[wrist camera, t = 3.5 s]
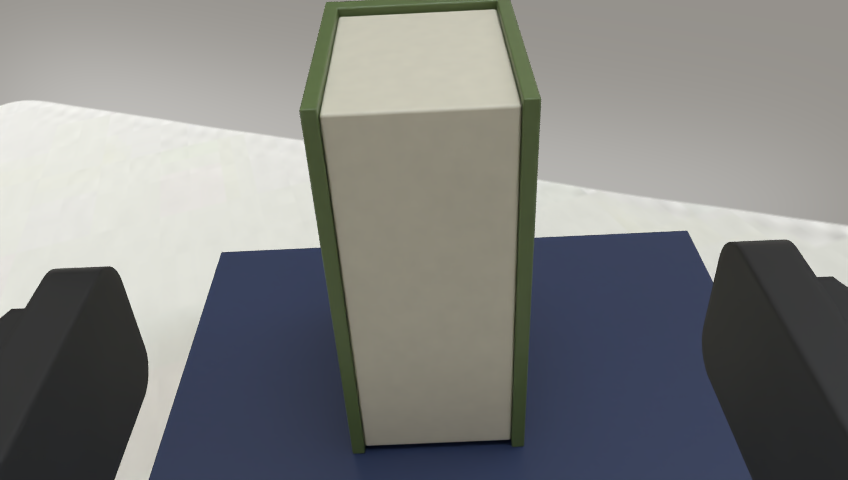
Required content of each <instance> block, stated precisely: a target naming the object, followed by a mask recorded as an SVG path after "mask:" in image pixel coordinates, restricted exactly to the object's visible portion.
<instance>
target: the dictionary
mask: <svg viewBox="0 0 848 480" xmlns="http://www.w3.org/2000/svg"><path fill="white" fill-rule="evenodd" d="M540 111H541V97H540V94H539V91H538V88H537V85H536V81H535V78H534V75H533V72H532V69H531V65H530V62H529V59H528V56H527V52H526V49H525V46H524V43H523V39H522V36H521V33H520V30H519V27H518V24H517V20H516V17H515V14H514V11H513V7H512V4H511V1H510V0H365V1H345V2H327V3H326V5H325V9H324V13H323V17H322V21H321V25H320V29H319V33H318V37H317V41H316V46H315V50H314V54H313V58H312V62H311V66H310V70H309V74H308V78H307V82H306V86H305V91H304V94H303V98H302V103H301V107H300V110H299V112H300V118H301V125H302V130H303V137H304V144H305V150H306V157H307V163H308V170H309V176H310V182H311V189H312V195H313V202H314V208H315V214H316V221H317V227H318V234H319V240H320V246H321V253H322V259H323V266H324V272H325V278H326V285H327V291H328V298H329V304H330V311H331V317H332V323H333V330H334V336H335V343H336V349H337V355H338V362H339V368H340V375H341V381H342V387H343V394H344V400H345V407H346V413H347V420H348V426H349V432H350V439H351V445H352V452H353V453H354V454H358V453H365V447H366V445H367V446H375V445H398V444H421V443H445V442H468V441H491V440H509V439H511V445H512V447H522V446H524V437H525V417H526V397H527V376H528V356H529V335H530V315H531V295H532V274H533V254H534V234H535V213H536V193H537V173H538V172H537V171H538V150H539V132H540V130H539V129H540Z"/></svg>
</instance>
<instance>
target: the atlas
mask: <svg viewBox="0 0 848 480" xmlns="http://www.w3.org/2000/svg"><path fill="white" fill-rule="evenodd" d="M712 287H713V281H712V279H711V277H710V275H709V273H708V271H707V269H706V267H705V265H704V263H703V261H702V259H701V257H700V255H699V253H698V251H697V249H696V247H695V245H694V243H693V241H692V239H691V237H690V235H689V233H688V231H672V232H650V233H629V234H607V235H585V236H564V237H542V238H534V254H533V274H532V295H531V315H530V335H529V356H528V376H527V397H526V417H525V437H524V446H522V447H512V445H511V439H509V440H491V441H468V442H445V443H421V444H398V445H375V446H367V445H366V447H365V453H358V454H354V453H353V452H352V445H351V439H350V432H349V426H348V420H347V413H346V407H345V400H344V394H343V387H342V381H341V375H340V368H339V362H338V355H337V349H336V343H335V336H334V330H333V323H332V317H331V311H330V304H329V298H328V291H327V285H326V278H325V272H324V266H323V259H322V253H321V248H305V249H283V250H261V251H240V252H222V253H221V256H220V259H219V262H218V265H217V268H216V271H215V275H214V278H213V281H212V284H211V287H210V290H209V293H208V296H207V300H206V303H205V306H204V309H203V312H202V315H201V318H200V321H199V325H198V328H197V331H196V334H195V337H194V340H193V343H192V346H191V350H190V353H189V356H188V359H187V362H186V365H185V368H184V371H183V375H182V378H181V381H180V384H179V387H178V390H177V393H176V396H175V399H174V403H173V406H172V409H171V412H170V415H169V418H168V421H167V424H166V428H165V431H164V434H163V437H162V440H161V443H160V446H159V449H158V453H157V456H156V459H155V462H154V465H153V468H152V471H151V474H150V478H149V480H752V478H751V475H750V473H749V471H748V468H747V466H746V464H745V461H744V459H743V457H742V454H741V452H740V450H739V447H738V445H737V443H736V440H735V438H734V436H733V433H732V431H731V429H730V426H729V424H728V422H727V419H726V417H725V415H724V412H723V410H722V408H721V405H720V403H719V401H718V398H717V396H716V394H715V391H714V389H713V387H712V384H711V382H710V380H709V377H708V375H707V372H706V369H705V365H704V360H703V353H702V331H703V326H704V321H705V317H706V313H707V308H708V304H709V300H710V295H711V291H712Z"/></svg>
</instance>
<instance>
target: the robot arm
mask: <svg viewBox="0 0 848 480" xmlns="http://www.w3.org/2000/svg"><path fill="white" fill-rule="evenodd" d="M702 353H703V360H704V365H705V369H706V372H707V375H708V377H709V380H710V382H711V384H712V387H713V389H714V391H715V394H716V396H717V398H718V401H719V403H720V405H721V408H722V410H723V412H724V415H725V417H726V419H727V422H728V424H729V426H730V429H731V431H732V433H733V436H734V438H735V440H736V443H737V445H738V447H739V450H740V452H741V454H742V457H743V459H744V461H745V464H746V466H747V468H748V471H749V473H750V475H751V478H752V480H848V287H846V286H845V285H844V284H842V283H841V282H839V281H838V280H837V279H835V278H834V277H816V275H815V274H814V272H813V271H812V269H811V268H810V267H809V265H808V264H807V262H806V261H805V259H804V258H803V256H802V255H801V253H800V252H799V250H798V249H797V247H796V246H795V245H794V244H793V243H792V242H791V241H789V240H765V241H741V242H728V243H727V244H725V245H724V247H723V249H722V251H721V253H720V257H719V261H718V265H717V270H716V274H715V278H714V283H713V287H712V291H711V295H710V300H709V304H708V308H707V313H706V317H705V321H704V326H703V331H702ZM147 384H148V358H147V353H146V349H145V346H144V343H143V340H142V337H141V334H140V331H139V329H138V326H137V323H136V320H135V317H134V314H133V311H132V308H131V306H130V303H129V300H128V297H127V294H126V291H125V288H124V286H123V283H122V280H121V278H120V275H119V274H118V272H117V271H116V270H115V269H114V268H113V267H110V266H109V267H86V268H62V269H52V270H50V271H49V272H48V273H47V274H46V275H45V276H44V278H43V279H42V281H41V283H40V284H39V286H38V288H37V289H36V291H35V293H34V294H33V296H32V298H31V299H30V301H29V303H28V304H27V306H26V307H25V308H24V309H11V310H10V311H9V312H7V313H6V314H5V315H4V316H3V317H1V318H0V480H114V479H115V476H116V473H117V471H118V468H119V465H120V463H121V460H122V457H123V454H124V452H125V449H126V446H127V443H128V441H129V438H130V435H131V433H132V430H133V427H134V424H135V422H136V419H137V416H138V413H139V411H140V408H141V405H142V402H143V400H144V397H145V394H146V389H147Z"/></svg>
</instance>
